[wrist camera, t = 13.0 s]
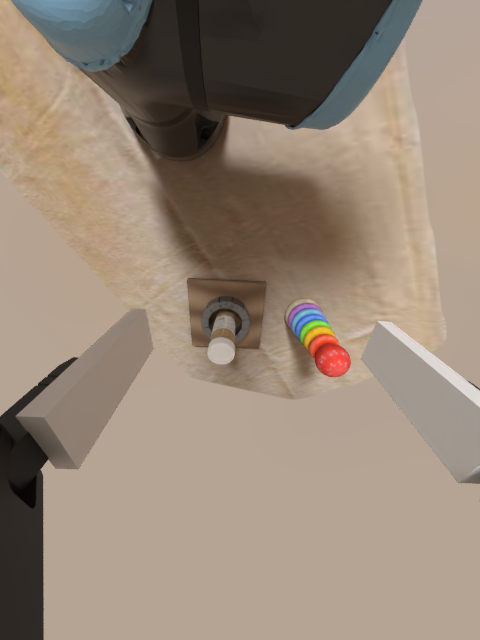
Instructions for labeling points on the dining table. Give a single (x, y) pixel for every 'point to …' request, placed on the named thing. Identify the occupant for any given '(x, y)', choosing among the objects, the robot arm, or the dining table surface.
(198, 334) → the base board
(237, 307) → the collar
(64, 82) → the dining table surface
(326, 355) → the stacking toy
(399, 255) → the dining table surface
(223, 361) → the sprinkles bottle
